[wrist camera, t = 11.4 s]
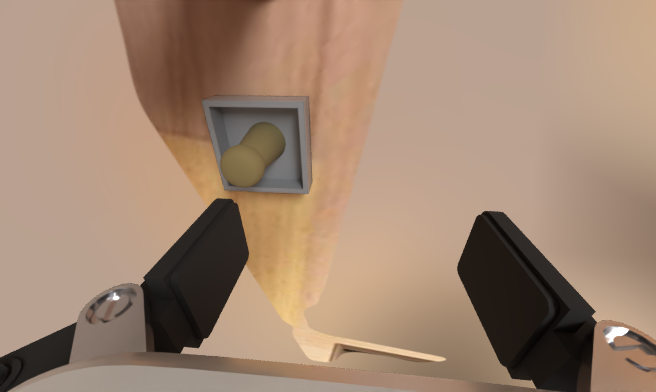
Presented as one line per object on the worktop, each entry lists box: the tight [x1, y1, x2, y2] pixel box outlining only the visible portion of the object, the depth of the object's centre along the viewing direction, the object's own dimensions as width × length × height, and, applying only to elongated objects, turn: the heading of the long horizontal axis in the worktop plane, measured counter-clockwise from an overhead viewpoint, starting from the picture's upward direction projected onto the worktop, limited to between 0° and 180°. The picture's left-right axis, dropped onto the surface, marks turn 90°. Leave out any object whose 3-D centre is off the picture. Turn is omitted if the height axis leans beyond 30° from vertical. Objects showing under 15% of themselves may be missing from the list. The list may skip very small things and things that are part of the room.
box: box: [201, 95, 312, 194], centre depth 36 cm, size 14×14×4 cm
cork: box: [220, 122, 286, 187], centre depth 32 cm, size 6×6×11 cm
